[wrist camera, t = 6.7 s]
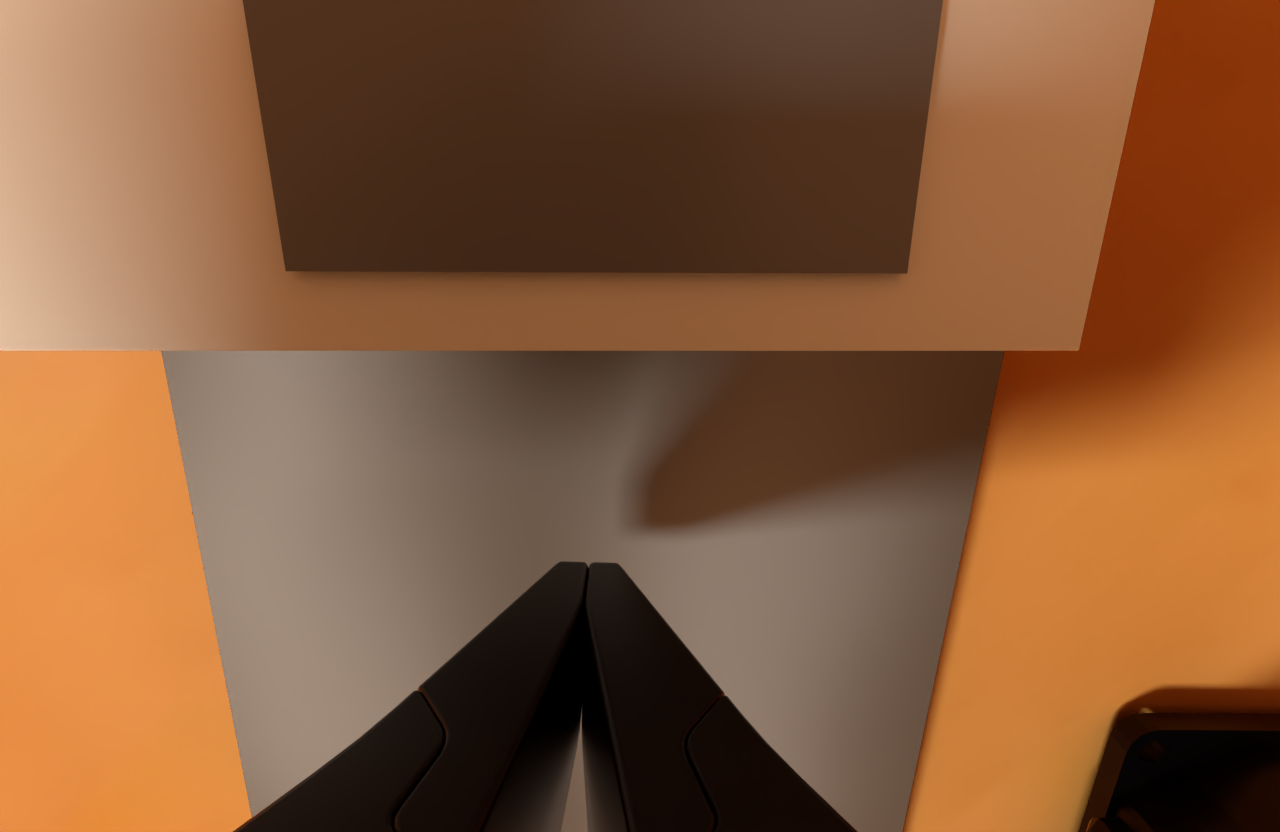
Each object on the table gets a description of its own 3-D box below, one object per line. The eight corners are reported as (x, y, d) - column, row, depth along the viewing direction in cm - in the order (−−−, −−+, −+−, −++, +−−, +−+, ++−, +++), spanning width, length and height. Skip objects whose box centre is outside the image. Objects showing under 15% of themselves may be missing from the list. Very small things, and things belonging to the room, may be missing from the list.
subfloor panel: (1147, -461, 7) (1188, -512, 7) (878, 872, 13) (888, 899, 13) (20, -555, 7) (-28, -617, 6) (281, 874, 13) (267, 901, 12)
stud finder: (1025, -108, 8) (1226, -267, 5) (958, 314, 9) (1088, 353, 7) (73, -128, 7) (-221, -312, 5) (169, 313, 9) (-14, 353, 6)
